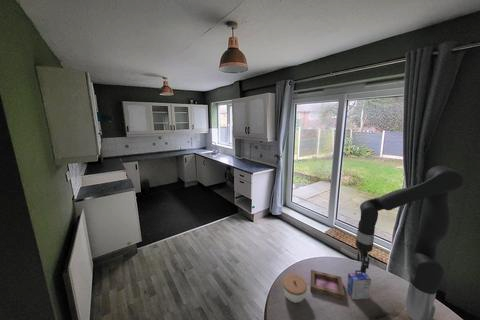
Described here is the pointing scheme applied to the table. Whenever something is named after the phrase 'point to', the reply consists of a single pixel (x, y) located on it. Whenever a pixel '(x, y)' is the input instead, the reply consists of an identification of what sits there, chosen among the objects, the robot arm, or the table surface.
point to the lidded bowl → (294, 288)
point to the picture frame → (327, 285)
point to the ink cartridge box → (358, 285)
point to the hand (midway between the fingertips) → (361, 266)
